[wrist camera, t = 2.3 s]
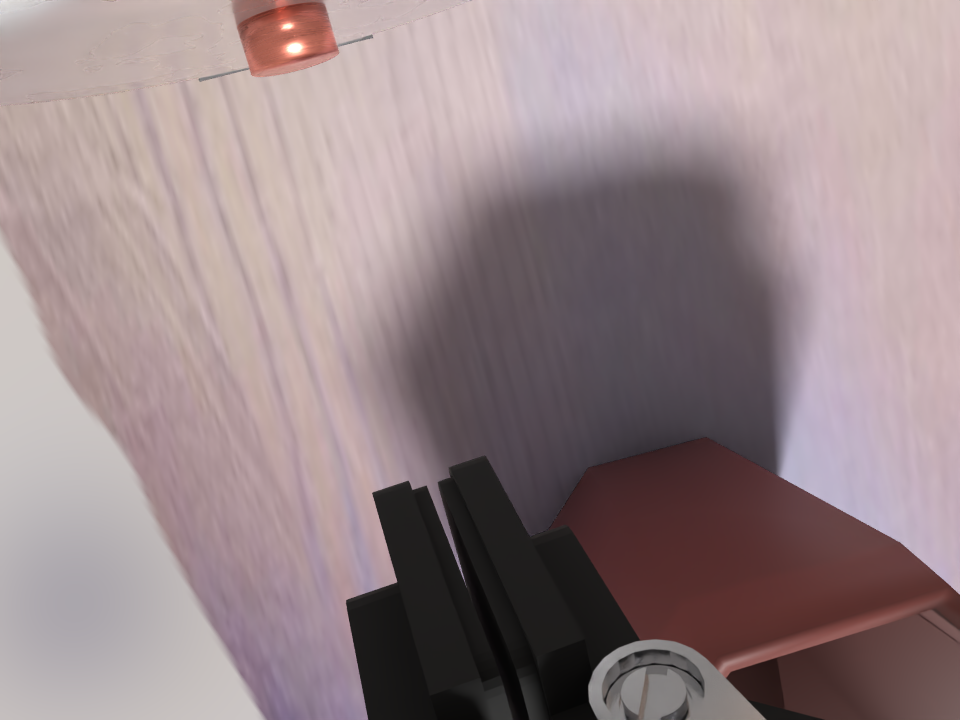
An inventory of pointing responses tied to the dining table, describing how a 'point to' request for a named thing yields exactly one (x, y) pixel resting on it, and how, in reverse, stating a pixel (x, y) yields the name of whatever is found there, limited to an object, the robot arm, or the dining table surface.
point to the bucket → (770, 585)
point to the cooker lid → (176, 40)
